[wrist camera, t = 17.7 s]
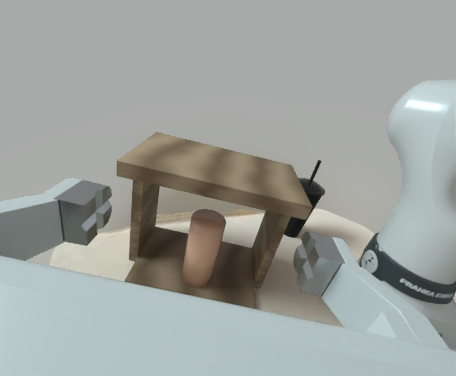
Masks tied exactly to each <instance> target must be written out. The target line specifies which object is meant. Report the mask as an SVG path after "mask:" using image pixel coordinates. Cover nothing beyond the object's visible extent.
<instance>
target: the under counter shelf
mask: <svg viewBox="0 0 456 376" xmlns="http://www.w3.org/2000/svg"><path fill="white" fill-rule="evenodd" d="M117 176H119V177H124V178H128V179H132V180H133V190H132V191H133V192H132V211H131V230H130V250H129V260H133V261H135V263H134V265H133V267H132V269H131V270H130V272H129V274H128V276H127V277H126V279H125V282H128V283H133V284H138V285H143V286H148V287H152V288H157V289H162V290H167V291H172V292H177V293H181V294H186V295H191V296H196V297H201V298H205V299H210V300H215V301H220V302H225V303H229V304H234V305H239V306H244V307H248V308H253V309H255V299H254V287H258V288H260V287H261V285H262V283H263V280H264V278H265V276H266V273H267V271H268V269H269V266H270V264H271V262H272V259H273V257H274V255H275V252H276V250H277V248H278V246H279V243H280V241H281V239H282V236H283V234H284V232H285V229H286V227H287V225H288V222H289V220H290V218H291V217H295V218H300V219H304V220H307V218H308V215H309V213H310V211H311V209H312V205H311V203H310V201H309V199H308V197H307V195H306V193H305V191H304V189H303V187H302V185H301V183H300V181H299V179H298V177H297V175H296V173H295V171H294V169H293V167H292V165H289V164H284V163H280V162H276V161H272V160H268V159H264V158H260V157H255V156H252V155H248V154H244V153H240V152H235V151H231V150H227V149H223V148H219V147H215V146H211V145H207V144H202V143H199V142H194V141H191V140H186V139H182V138H178V137H174V136H170V135H166V134H162V133H158V132H156V133H155V134H153V135H152V136H151V137H149V138H148V139H146V140H145V141H144V142H142V143H141V144H139V145H138V146H137V147H135V148H134V149H132V150H131V151H130V152H128V153H127V154H125V155H124V156H123V157H122V158H120V159H118V160H117ZM160 186H163V187H167V188H171V189H175V190H180V191H184V192H189V193H193V194H197V195H201V196H205V197H210V198H214V199H218V200H222V201H227V202H231V203H235V204H240V205H244V206H248V207H252V208H257V209H261V210H265V211H266V212H265V215H264V217H263V220H262V223H261V225H260V228H259V231H258V234H257V236H256V239H255V242H254V245H253V247H252V248H248V247H244V246H239V245H235V244H230V243H226V242H221V244H220V247H219V251H218V255H217V259H216V263H215V266H214V270H213V274H212V278H211V281H210V282H209V283H208V284H207V285H206V286H204V287H200V288H195V287H191V286H189V285H187V284H186V283H185V282H184V281H183V279H182V269H183V263H184V257H185V252H186V246H187V240H188V235H189V234H186V233H181V232H177V231H172V230H168V229H163V228H159V227H155V223H156V214H157V205H158V195H159V187H160Z"/></svg>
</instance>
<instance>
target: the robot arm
mask: <svg viewBox="0 0 456 376" xmlns="http://www.w3.org/2000/svg"><path fill="white" fill-rule="evenodd" d="M387 132H388V137H389V140H390V142H391V144H392V145H393V147H394V148H395V150H396V152H397V154H398V157H399V160H400V163H401V168H402V188H401V193H400V196H399V199H398V201H397V203H396V205H395V207H394V209H393V211H392V213H391V215H390V216H389V218H388V220H387V222H386V223H385V225H384V226H383V228H382V229H381V231H380V232H379V233H376V234H375V235H374V236H373V238H372V239H371V240H370V242H369V243H368V245H367V246H366V248H365V249H364V252H363V254H362V256H361V257H360V258H359V260H358V261H357V262H356V260H355V258H354V256H353V255H352V253H351V251H350V250H349V248H348V246H347V244H346V243H345V241H344V240H343V239H341V238H337V237H332V236H326V235H321V234H316V233H311V232H305V233H304V234H303V236H302V238H301V240H302V243H303V244H302V245H300V246H298V247H297V249H296V251H295V255H294V267H295V270H296V271H297V272H298V273H299V275H298V277H297V279H298V283H299V287H300V291H301V292H304V293H308V294H312V295H316V296H321V298H322V299H323V301H324V302H325V303H326V304H327V306H328V307H329V308H330V310H331V311H332V312H333V313H334V315H335V316H336V317H337V319H338V320H339V321H340V322H341V324H342V325H343V326H344V327H339V326H334V325H329V324H324V323H319V322H315V321H310V320H305V319H300V318H296V317H291V316H286V315H281V314H277V313H272V312H267V311H263V310H258V309H253V308H248V307H244V306H239V305H234V304H229V303H225V302H220V301H215V300H210V299H205V298H201V297H196V296H191V295H186V294H181V293H177V292H172V291H167V290H162V289H157V288H152V287H148V286H143V285H138V284H133V283H128V282H124V281H119V280H114V279H109V278H105V277H100V276H95V275H90V274H85V273H81V272H76V271H71V270H66V269H62V268H57V267H52V266H47V265H42V264H37V263H33V262H28V261H26V260H27V259H29V258H32V257H34V256H36V255H38V254H40V253H42V252H45V251H47V250H49V249H51V248H53V247H55V246H57V245H59V244H62V243H63V241H64V242H69V243H75V244H80V245H85V246H87V245H88V244H89V243H90V242H91V241H92V240H93V239H94V237H95V236H96V235H97V230H98V229H100V228H103V227H104V226H105V225H106V224H107V223H108V221H109V218H110V216H111V211H112V205H111V204H110V202H109V201H108V199H109V198H110V197H111V196H112V194H111V189H110V187H109V186H105V185H101V184H97V183H93V182H89V181H84V180H81V179H77V178H67V179H66V180H64V181H63V182H61V183H59V184H57V185H56V186H54V187H52V188H51V189H49V190H48V191H46V192H44V193H43V194H41V195H39V196H38V195H31V196H26V197H21V198H16V199H11V200H6V201H1V202H0V376H456V303H455V302H454V300H453V297H454V294H455V292H456V80H426V81H424V82H422V83H420V84H418V85H416V86H414V87H413V88H411V89H410V90H409V91H407V92H406V93H405V94H404V95H403V96H402V97H401V98H400V99H399V100H398V101H397V103H396V104H395V106H394V107H393V109H392V111H391V113H390V115H389V119H388V124H387Z"/></svg>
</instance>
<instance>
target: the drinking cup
mask: <svg viewBox="0 0 456 376" xmlns="http://www.w3.org/2000/svg"><path fill="white" fill-rule="evenodd" d="M320 163H321V161H320V160H318V162H317V165H316V167H315V169H314V171H313V174H312V176H311V178H310V179H306V178H298V179H299V181H300V183H301V185H302V187H303V189H304V191H305V193H306V195H307V197H308V199H309V201H310V203H311V205H312V209H311V211H310V213H309V215H308V218H309V216H310V214H311V213H312V211H313V209H314V208H315V206H316V204H317V203H318V201H319V200H320V198H321V196H323V195H324V194H325V190H324V189H323V188H322V187H321V186H320V185H319V184H318V183H316V182H315V181H313V179H314V177H315V174H316V172H317V170H318V168H319V165H320ZM308 218H307V219H308ZM306 221H307V220H304V219H300V218H295V217H291V218H290V220H289V222H288V225H287V227H286V229H285V232H284V234H285V235H287V236H289V237H296V236H298V234H299V232H300V231H301V229H302V227H303V226H304V224H305V222H306Z"/></svg>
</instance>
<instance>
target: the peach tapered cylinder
mask: <svg viewBox="0 0 456 376" xmlns="http://www.w3.org/2000/svg"><path fill="white" fill-rule="evenodd" d="M225 225H226V220H225V218H224V217H223V216H222V215H221V214H220V213H218V212H216V211H213V210H208V209H202V210H198V211H196V212H194V213H193V214H192V218H191V223H190V229H189V235H188V240H187V246H186V252H185V257H184V263H183V269H182V279H183V281H184V282H185V283H186V284H187V285H189V286H191V287H195V288H200V287H204V286H206V285H207V284H208V283H209V282H210V281H211V278H212V274H213V270H214V266H215V263H216V259H217V255H218V251H219V247H220V244H221V240H222V236H223V232H224V229H225Z"/></svg>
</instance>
